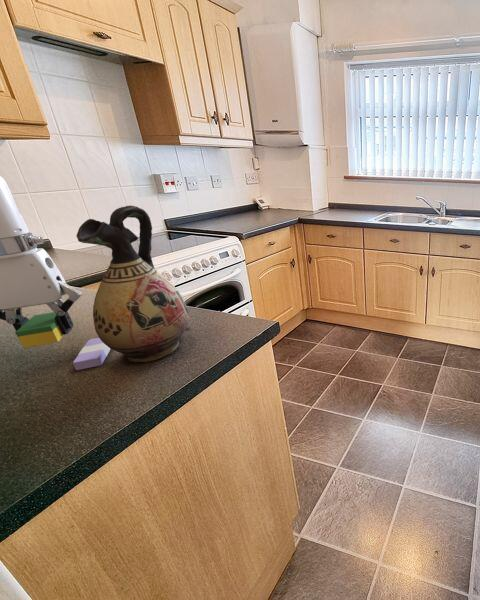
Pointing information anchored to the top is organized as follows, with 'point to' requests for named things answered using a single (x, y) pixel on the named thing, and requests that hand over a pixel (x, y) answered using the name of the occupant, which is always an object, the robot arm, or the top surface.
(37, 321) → the sponge
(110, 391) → the top surface
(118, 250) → the ceramic jug
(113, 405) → the top surface
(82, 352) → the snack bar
